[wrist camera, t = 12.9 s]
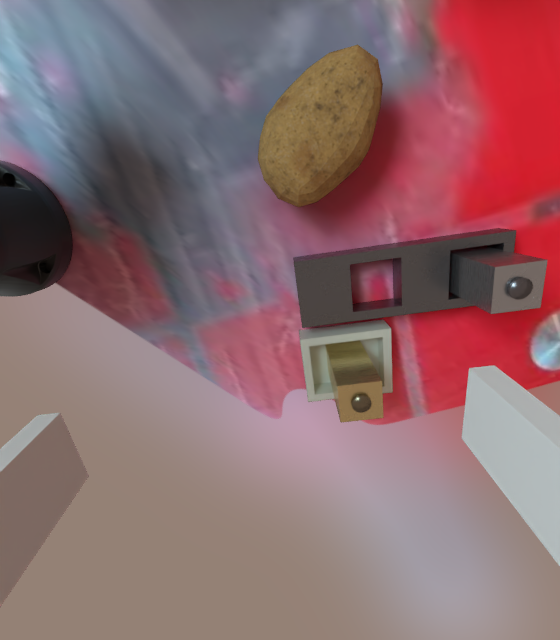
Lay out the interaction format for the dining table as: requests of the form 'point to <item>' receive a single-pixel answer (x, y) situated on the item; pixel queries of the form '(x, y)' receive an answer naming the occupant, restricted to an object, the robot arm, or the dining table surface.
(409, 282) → the rail
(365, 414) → the block with metal knob
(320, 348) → the parts tray
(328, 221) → the dining table surface
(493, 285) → the square rod with stud
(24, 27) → the dining table surface
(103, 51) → the dining table surface
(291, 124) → the potato
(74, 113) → the dining table surface
